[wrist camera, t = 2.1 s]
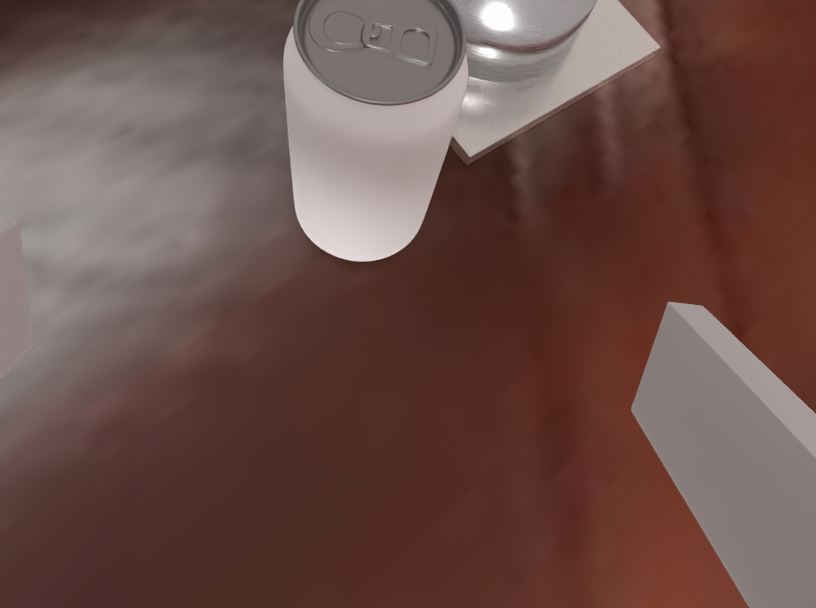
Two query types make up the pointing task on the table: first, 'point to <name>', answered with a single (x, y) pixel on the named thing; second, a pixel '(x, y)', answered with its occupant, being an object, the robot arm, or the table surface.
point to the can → (370, 117)
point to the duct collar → (538, 63)
